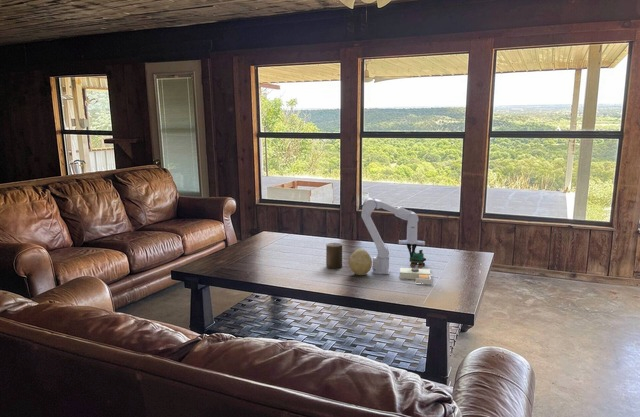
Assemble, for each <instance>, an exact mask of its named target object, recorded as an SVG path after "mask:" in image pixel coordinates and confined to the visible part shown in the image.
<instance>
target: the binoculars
mask: <svg viewBox="0 0 640 417" xmlns="http://www.w3.org/2000/svg"><path fill="white" fill-rule="evenodd" d="M418 251H419V252H416V249H415V250H414V253H413V257H410V256H409V266H410V267H415V265H417V267H418V268H422V267H423V266H425V265H426V264H425V262H426V261H427V258H425V256H424V255H425V254H424V253H423V249H419V250H418ZM411 253H412V251H411Z"/></svg>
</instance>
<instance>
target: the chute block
mask: <svg viewBox="0 0 640 417" xmlns="http://www.w3.org/2000/svg"><path fill="white" fill-rule="evenodd" d="M419 278H425V279H429V275H422V274H419Z"/></svg>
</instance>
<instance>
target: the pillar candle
mask: <svg viewBox="0 0 640 417" xmlns="http://www.w3.org/2000/svg"><path fill="white" fill-rule="evenodd" d="M325 247H326V248H325V250H326V258H325V259H326V260H325V261H326V263H325V265H326V266H325V267H326V268H328V269H330V270H331V269H332V270H337V269H338V270H339V269H342V268H343V243H339V242H329V243H326V245H325Z"/></svg>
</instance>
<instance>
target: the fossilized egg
mask: <svg viewBox="0 0 640 417" xmlns="http://www.w3.org/2000/svg"><path fill="white" fill-rule="evenodd" d="M348 262H349V268H350V271H352V273H353V274H355V275H357V276H364V275H367V274H368V273H369V272H370V270H371V269H372V266H373V259H372V258H371V256H370V254H369V252H368V251H367V250H365V249H363V248H358V249H356V250H355V251H353V252H352V253H351V255H350V258H349V261H348Z"/></svg>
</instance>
